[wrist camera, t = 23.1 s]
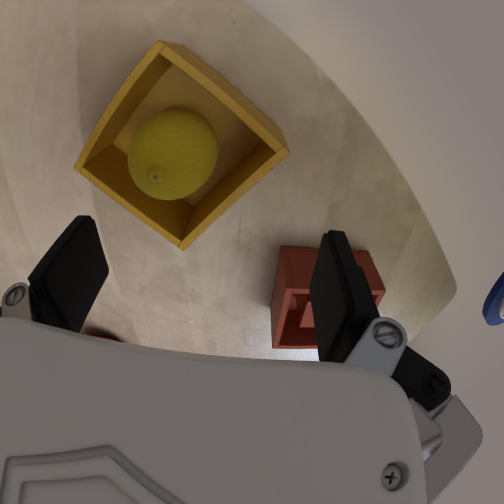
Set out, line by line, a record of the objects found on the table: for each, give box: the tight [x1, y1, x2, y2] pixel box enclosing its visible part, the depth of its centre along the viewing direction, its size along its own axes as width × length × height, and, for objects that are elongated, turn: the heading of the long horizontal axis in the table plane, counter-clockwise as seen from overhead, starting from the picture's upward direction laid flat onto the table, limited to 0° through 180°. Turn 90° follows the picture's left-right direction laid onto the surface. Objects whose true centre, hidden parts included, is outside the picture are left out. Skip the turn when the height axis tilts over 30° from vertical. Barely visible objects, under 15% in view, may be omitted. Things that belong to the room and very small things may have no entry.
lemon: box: [128, 109, 219, 200], centre depth 16 cm, size 6×6×8 cm
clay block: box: [296, 294, 315, 327], centre depth 27 cm, size 4×4×4 cm
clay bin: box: [270, 246, 386, 349], centre depth 27 cm, size 9×9×6 cm
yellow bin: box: [74, 40, 290, 251], centre depth 17 cm, size 10×10×6 cm
